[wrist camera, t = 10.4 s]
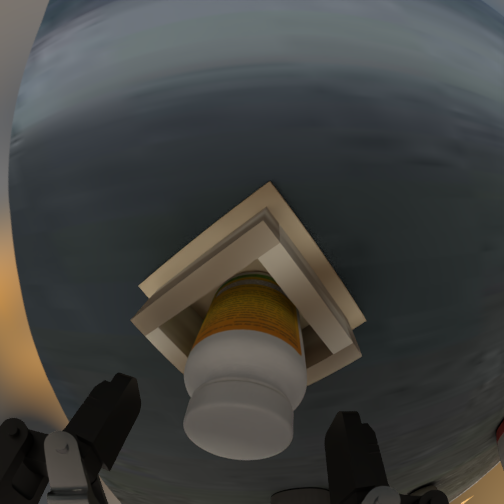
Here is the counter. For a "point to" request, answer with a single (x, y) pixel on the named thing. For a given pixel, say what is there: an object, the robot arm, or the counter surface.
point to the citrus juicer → (501, 442)
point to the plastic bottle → (423, 490)
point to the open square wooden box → (253, 260)
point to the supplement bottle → (246, 371)
